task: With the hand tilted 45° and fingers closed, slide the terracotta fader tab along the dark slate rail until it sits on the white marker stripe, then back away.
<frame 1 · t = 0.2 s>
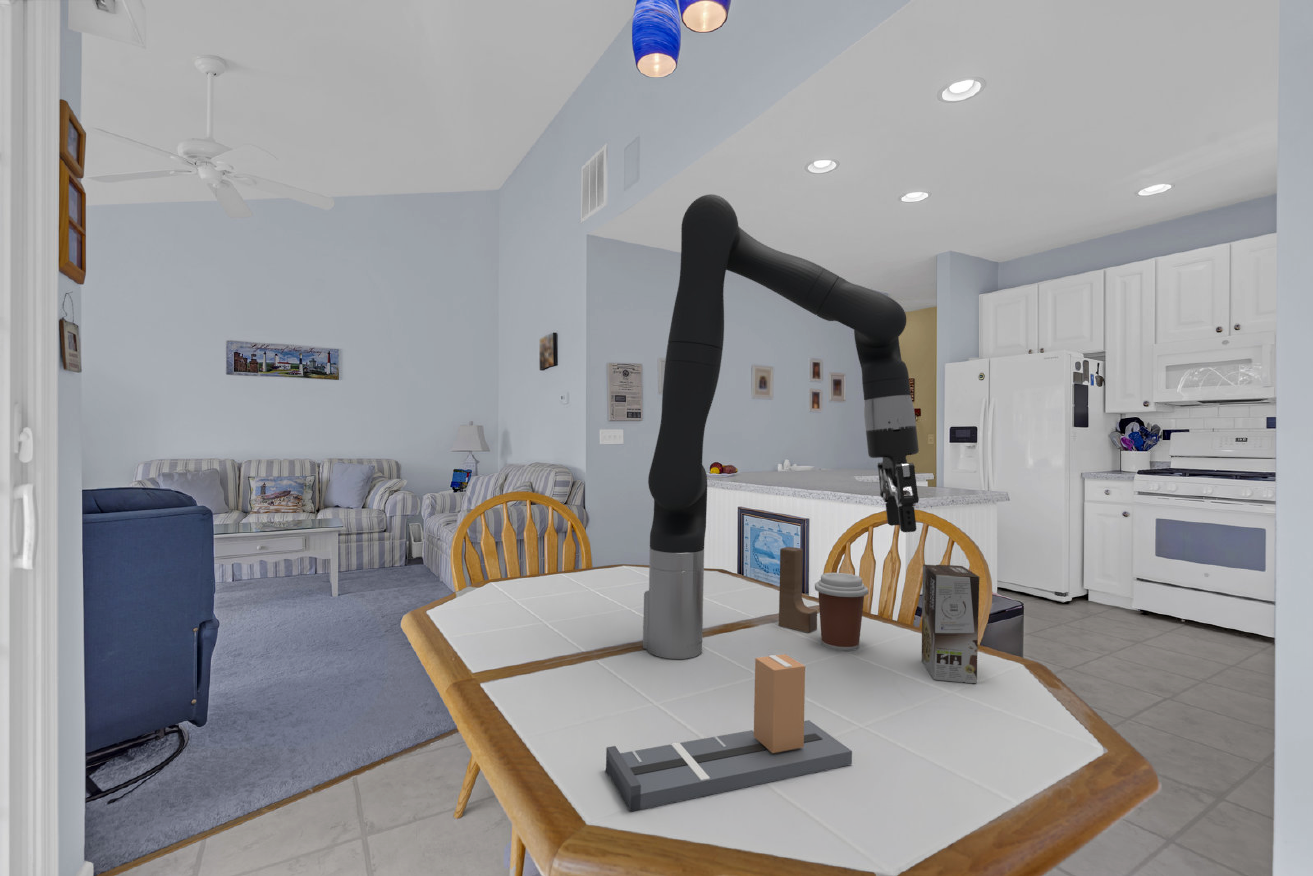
hand: (901, 528, 98), 22 cm above the table, tool pointing down, fingers open, 8 cm apart
coffee cup: (839, 645, 110), on the table
wooden block: (797, 628, 119), on the table
coffee box: (947, 673, 98), on the table
fader rail: (730, 767, 68), on the table
fader tab: (779, 701, 70), point 6 cm above the table, slide at 0.0 cm
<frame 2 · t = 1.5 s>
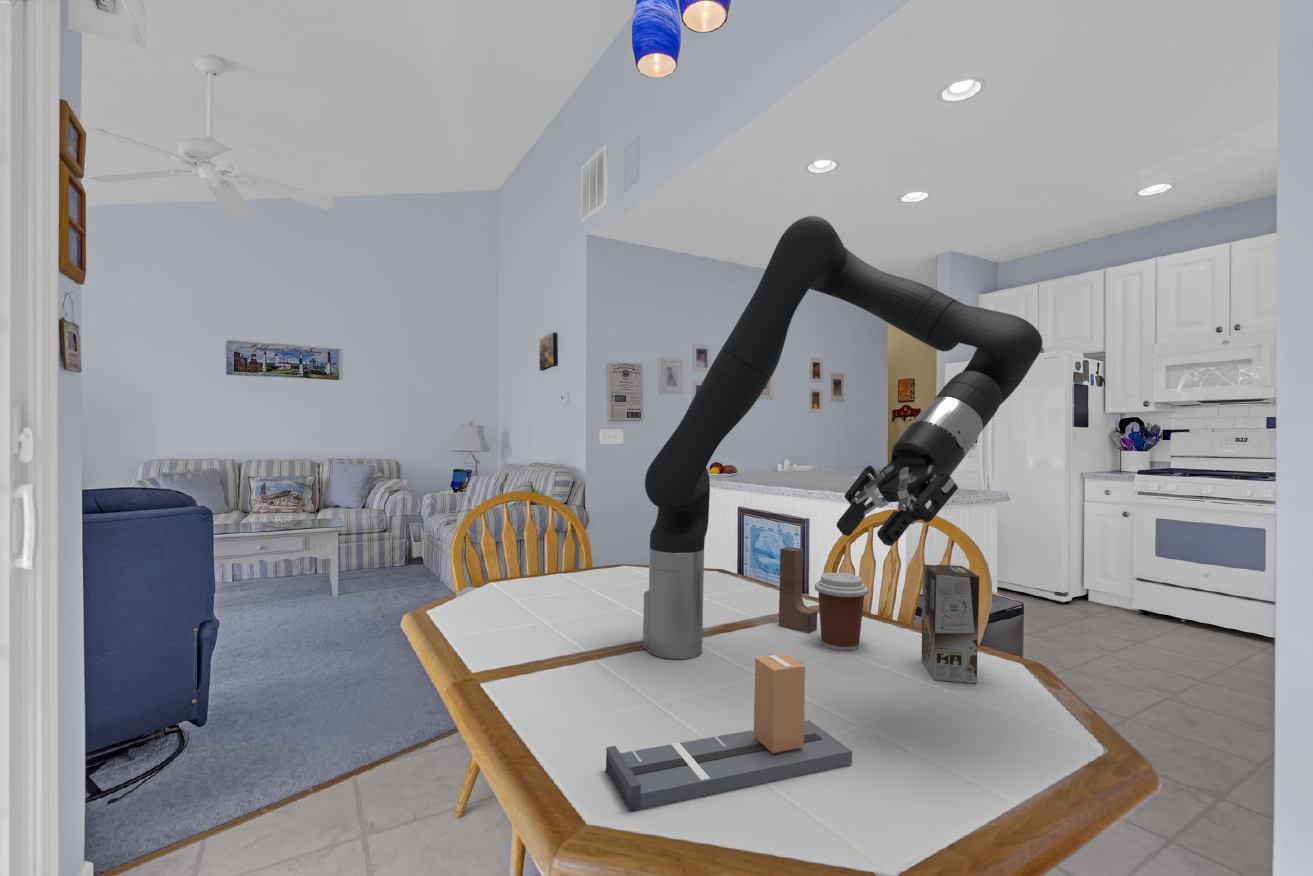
hand: (861, 535, 75), 25 cm above the table, tool tilted 45°, fingers open, 7 cm apart
nothing on the table moved.
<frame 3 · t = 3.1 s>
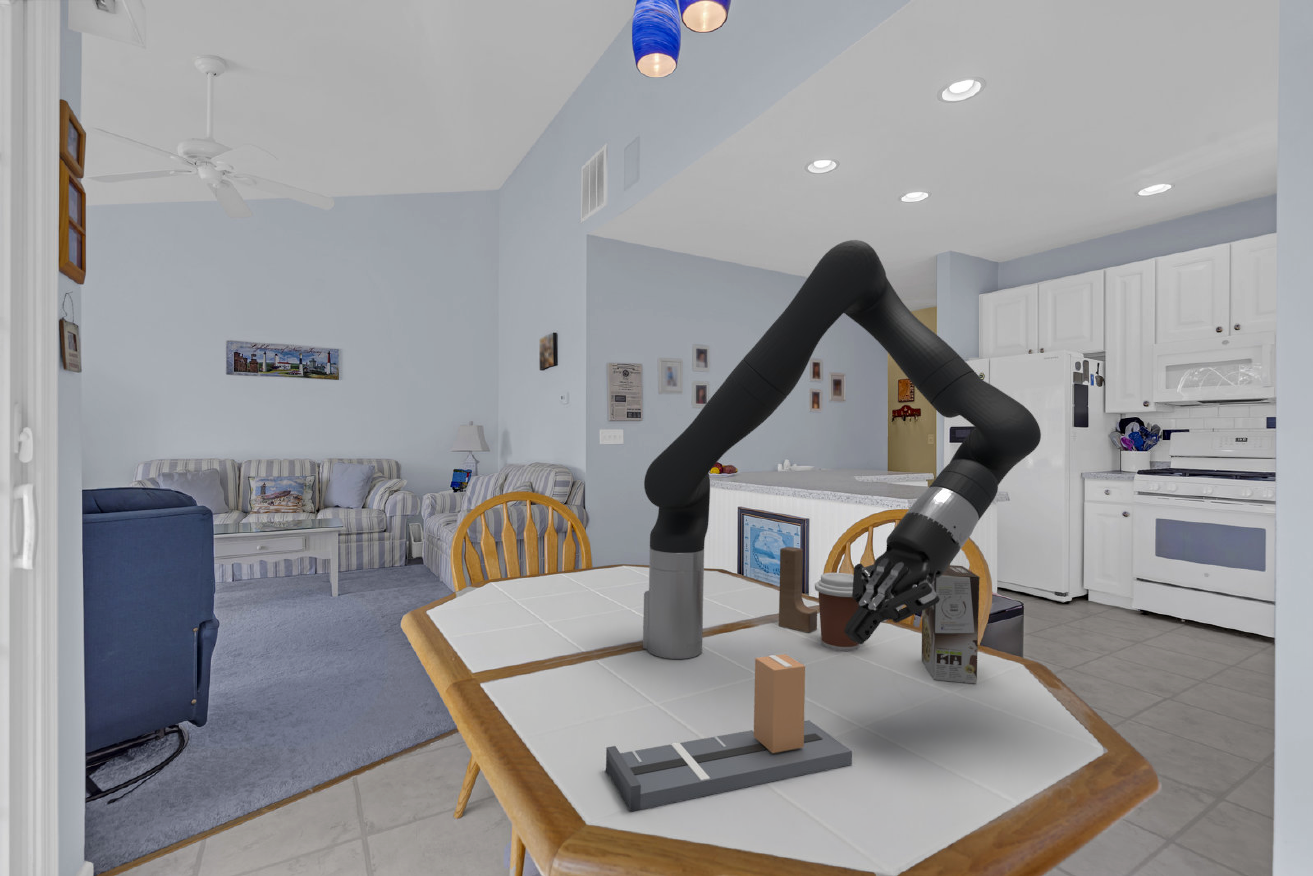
hand: (852, 638, 74), 12 cm above the table, tool tilted 45°, fingers closed
nothing on the table moved.
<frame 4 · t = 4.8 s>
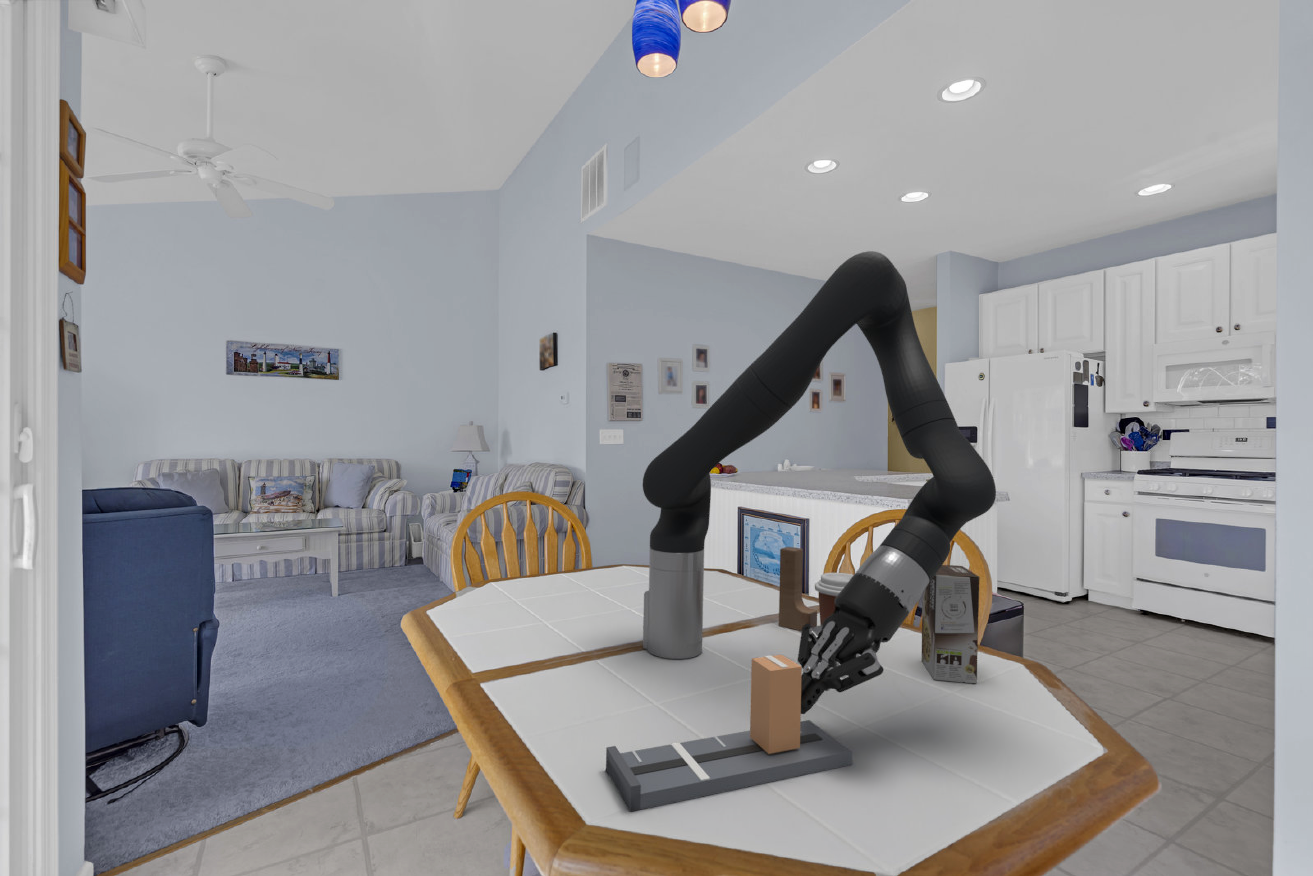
hand: (794, 707, 71), 5 cm above the table, tool tilted 45°, fingers closed
fader tab: (775, 701, 70), point 6 cm above the table, slide at 0.5 cm, touching gripper
everything else where it was.
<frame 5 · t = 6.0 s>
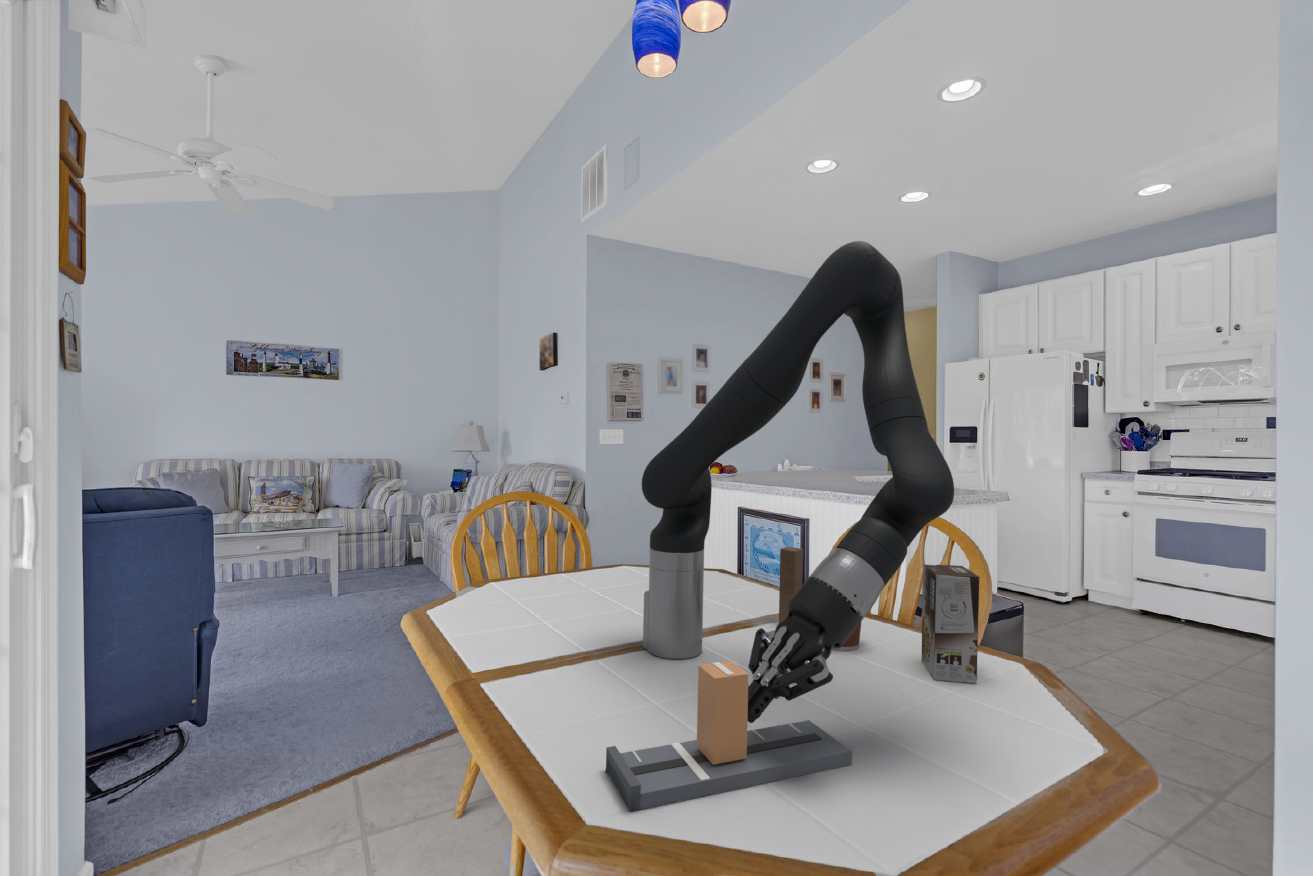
hand: (742, 716, 69), 5 cm above the table, tool tilted 45°, fingers closed
fader tab: (722, 710, 68), point 6 cm above the table, slide at 7.2 cm, touching gripper
everything else where it was.
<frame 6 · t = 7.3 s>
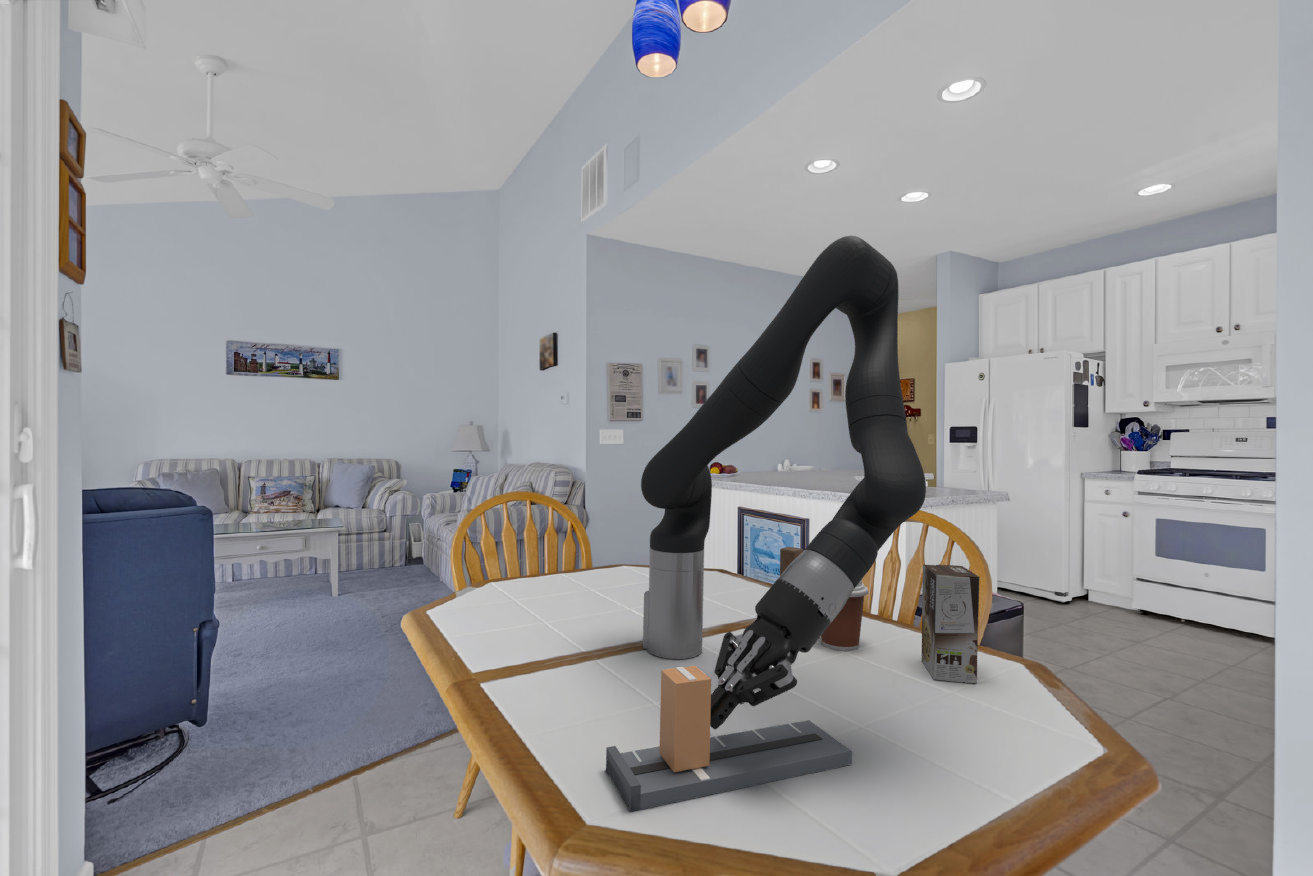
hand: (706, 722, 67), 5 cm above the table, tool tilted 45°, fingers closed
fader tab: (684, 716, 66), point 6 cm above the table, slide at 11.6 cm, touching gripper
everything else where it was.
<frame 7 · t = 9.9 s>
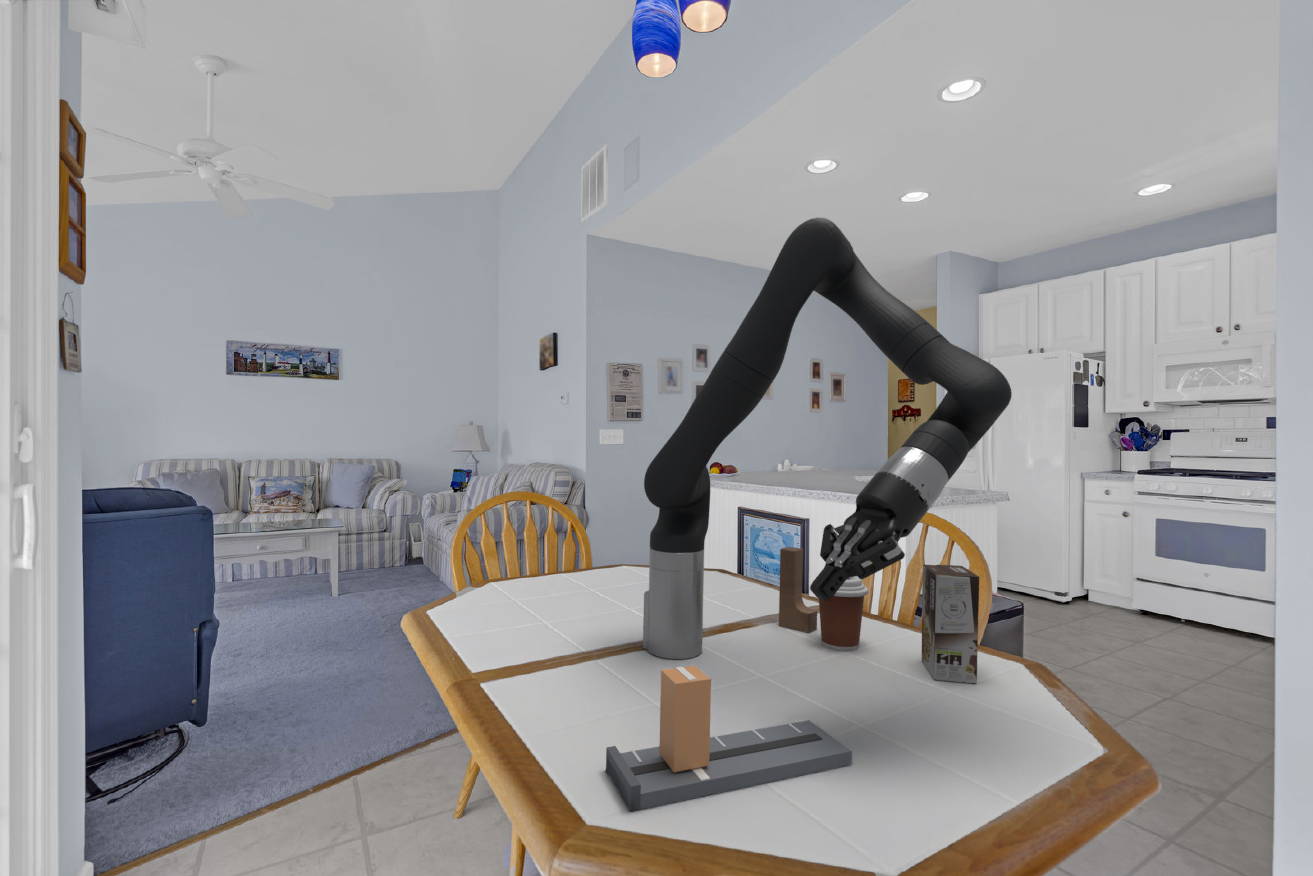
hand: (817, 595, 74), 18 cm above the table, tool tilted 45°, fingers closed
fader tab: (684, 716, 66), point 6 cm above the table, slide at 11.7 cm
everything else where it was.
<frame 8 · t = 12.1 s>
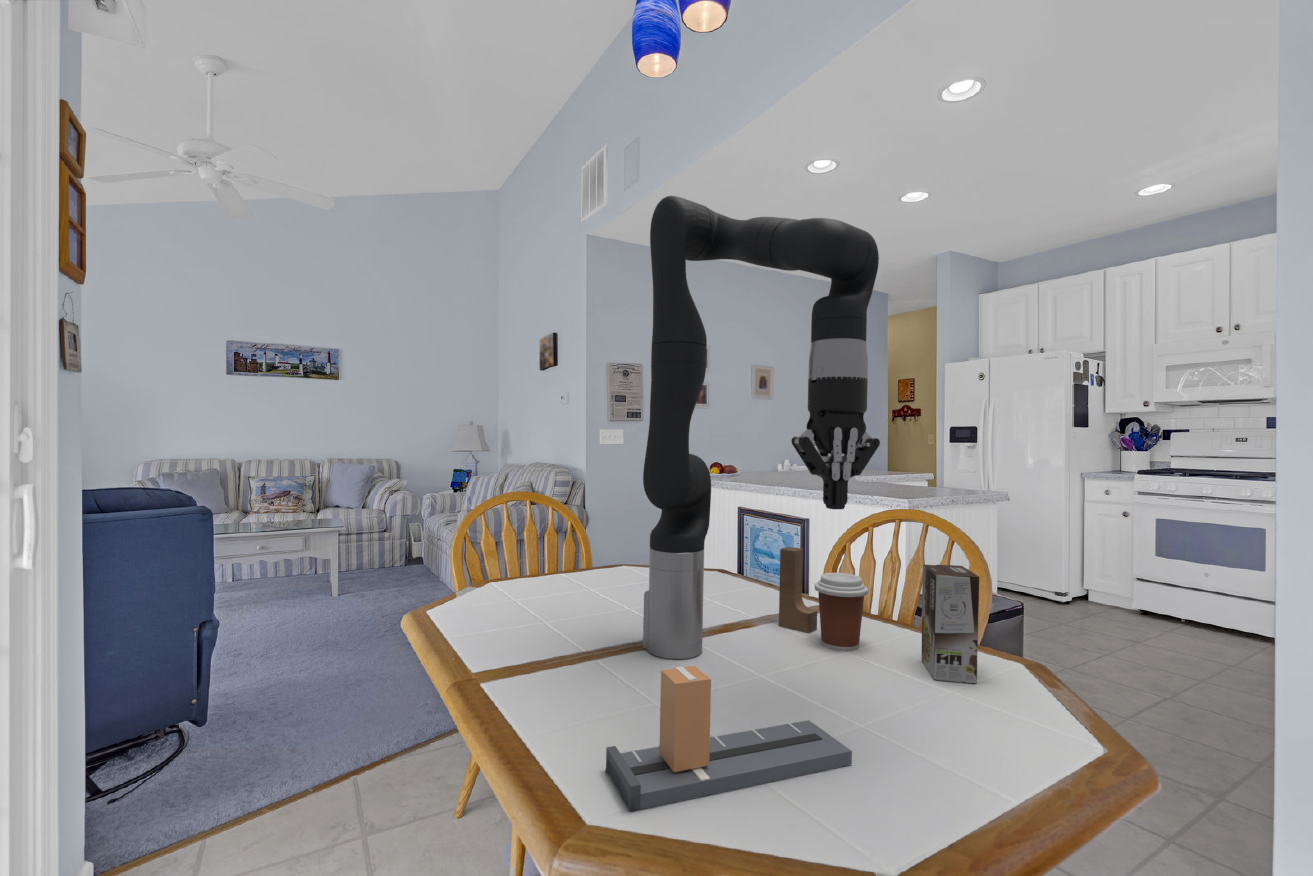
hand: (834, 508, 82), 27 cm above the table, tool pointing down, fingers closed
nothing on the table moved.
at the end: fader tab slide at 11.7 cm; fader tab moved 11.7 cm from its start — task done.
